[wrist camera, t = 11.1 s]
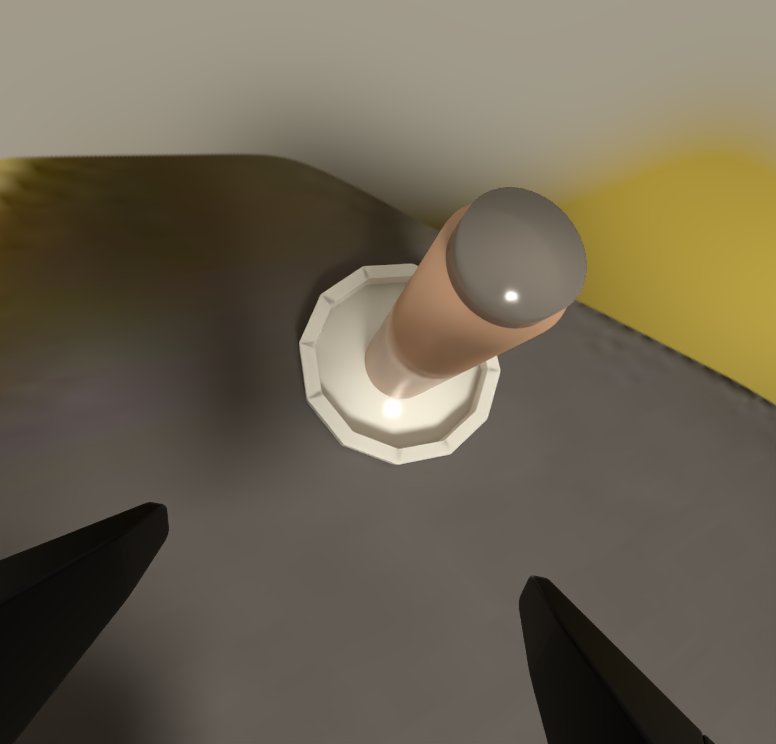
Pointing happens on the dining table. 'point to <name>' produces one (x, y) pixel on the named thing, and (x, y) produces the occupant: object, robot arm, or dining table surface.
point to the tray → (361, 398)
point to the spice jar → (479, 291)
